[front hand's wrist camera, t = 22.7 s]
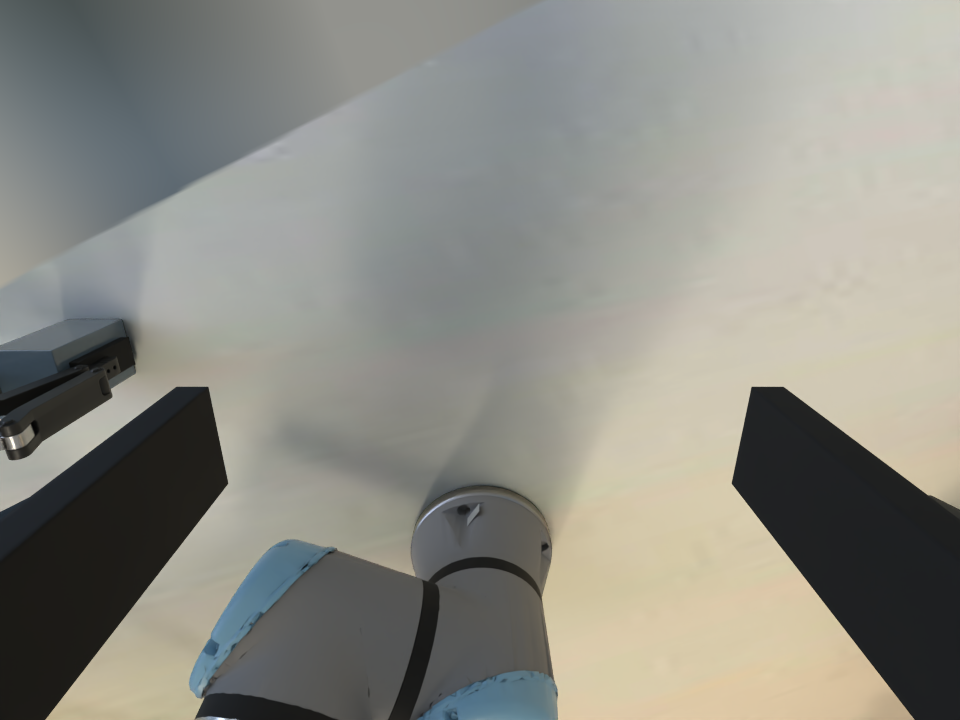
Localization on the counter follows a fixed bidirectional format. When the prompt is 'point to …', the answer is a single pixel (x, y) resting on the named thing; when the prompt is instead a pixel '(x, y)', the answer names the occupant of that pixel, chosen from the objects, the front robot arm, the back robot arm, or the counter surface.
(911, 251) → the counter surface
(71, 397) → the back robot arm
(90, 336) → the brick
